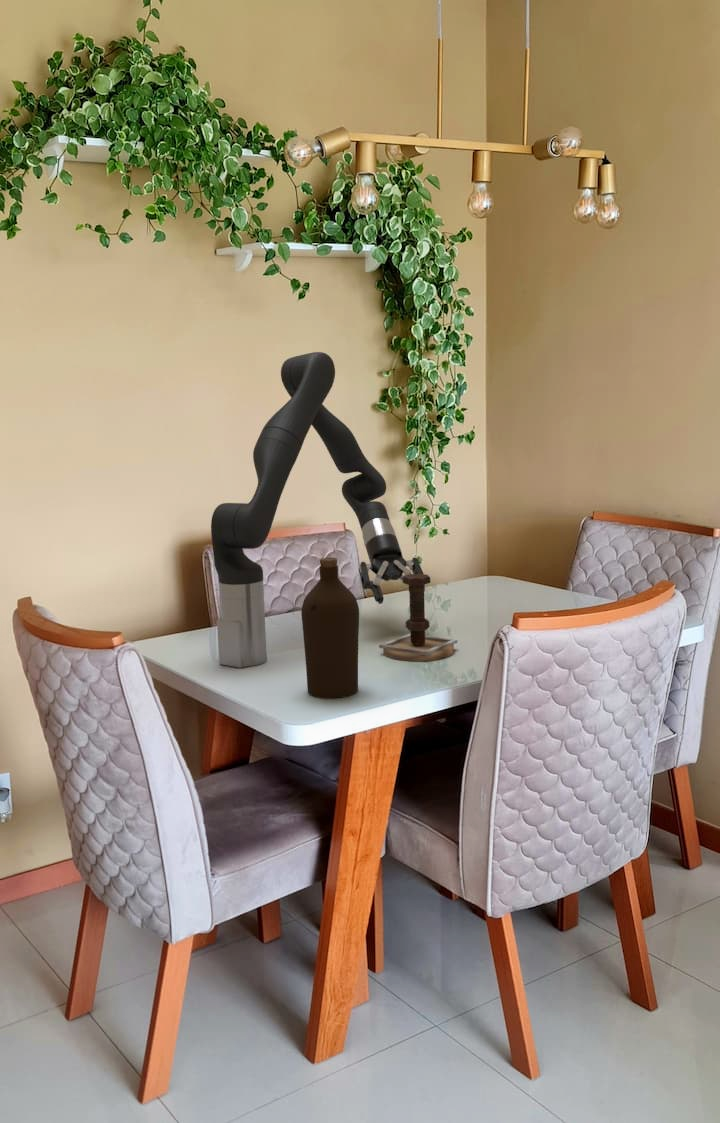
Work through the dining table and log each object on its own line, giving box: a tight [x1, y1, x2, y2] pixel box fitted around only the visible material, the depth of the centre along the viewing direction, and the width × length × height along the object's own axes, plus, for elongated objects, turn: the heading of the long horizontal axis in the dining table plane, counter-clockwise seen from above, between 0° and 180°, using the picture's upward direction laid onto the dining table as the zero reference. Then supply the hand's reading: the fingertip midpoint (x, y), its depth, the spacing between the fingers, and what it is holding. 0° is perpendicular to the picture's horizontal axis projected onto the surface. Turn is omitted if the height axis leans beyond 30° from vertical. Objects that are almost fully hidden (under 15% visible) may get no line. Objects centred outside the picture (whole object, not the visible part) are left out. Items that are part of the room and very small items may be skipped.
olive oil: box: [300, 557, 360, 699], centre depth 182 cm, size 11×11×25 cm
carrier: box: [378, 633, 458, 662], centre depth 211 cm, size 15×15×2 cm
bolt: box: [402, 573, 431, 646], centre depth 209 cm, size 6×5×15 cm
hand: (399, 600), depth 220 cm, fingers open, 8 cm apart
